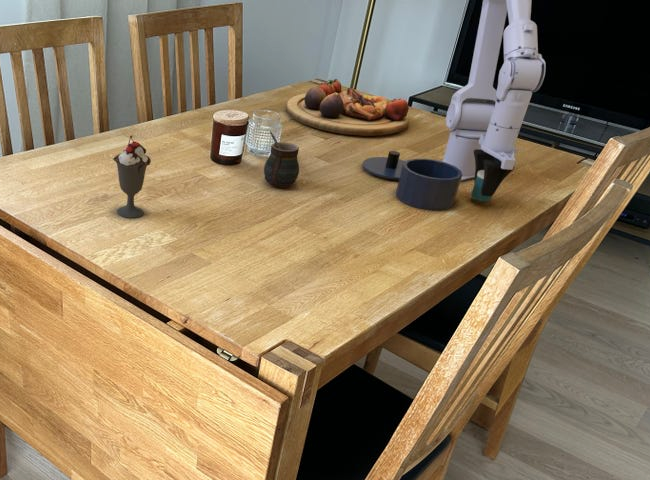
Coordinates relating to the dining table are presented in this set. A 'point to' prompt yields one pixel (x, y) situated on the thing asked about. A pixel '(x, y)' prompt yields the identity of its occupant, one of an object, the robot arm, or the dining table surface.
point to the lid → (385, 165)
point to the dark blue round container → (428, 184)
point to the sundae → (131, 176)
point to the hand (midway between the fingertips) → (483, 190)
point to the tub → (479, 188)
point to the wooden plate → (348, 111)
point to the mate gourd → (282, 164)
